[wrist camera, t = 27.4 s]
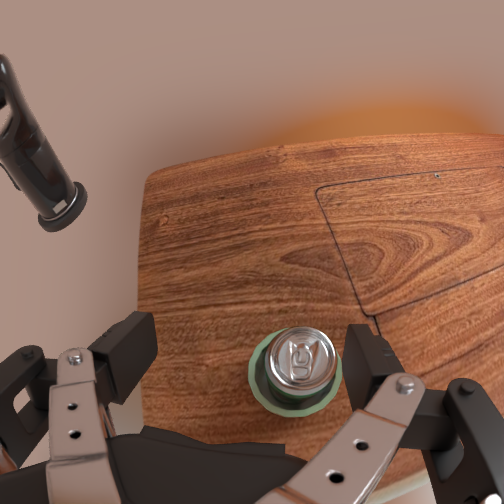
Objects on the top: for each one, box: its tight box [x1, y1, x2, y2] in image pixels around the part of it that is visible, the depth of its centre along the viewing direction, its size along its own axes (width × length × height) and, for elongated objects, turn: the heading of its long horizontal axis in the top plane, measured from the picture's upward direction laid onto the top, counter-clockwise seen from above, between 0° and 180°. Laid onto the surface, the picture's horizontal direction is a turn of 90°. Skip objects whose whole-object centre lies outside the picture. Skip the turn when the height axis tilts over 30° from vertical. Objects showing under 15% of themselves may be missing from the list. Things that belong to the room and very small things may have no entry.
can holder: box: [248, 328, 342, 418], centre depth 26 cm, size 8×8×6 cm
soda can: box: [264, 326, 338, 405], centre depth 23 cm, size 5×5×12 cm
